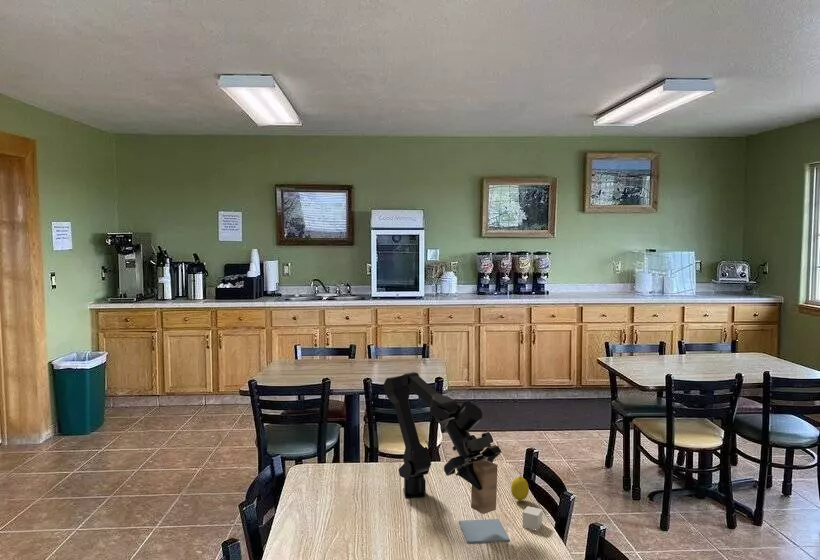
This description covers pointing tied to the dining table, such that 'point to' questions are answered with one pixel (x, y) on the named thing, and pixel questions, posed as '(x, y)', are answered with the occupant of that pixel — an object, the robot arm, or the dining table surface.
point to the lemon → (519, 488)
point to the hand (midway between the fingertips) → (487, 487)
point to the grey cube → (532, 518)
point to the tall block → (485, 487)
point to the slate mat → (483, 531)
